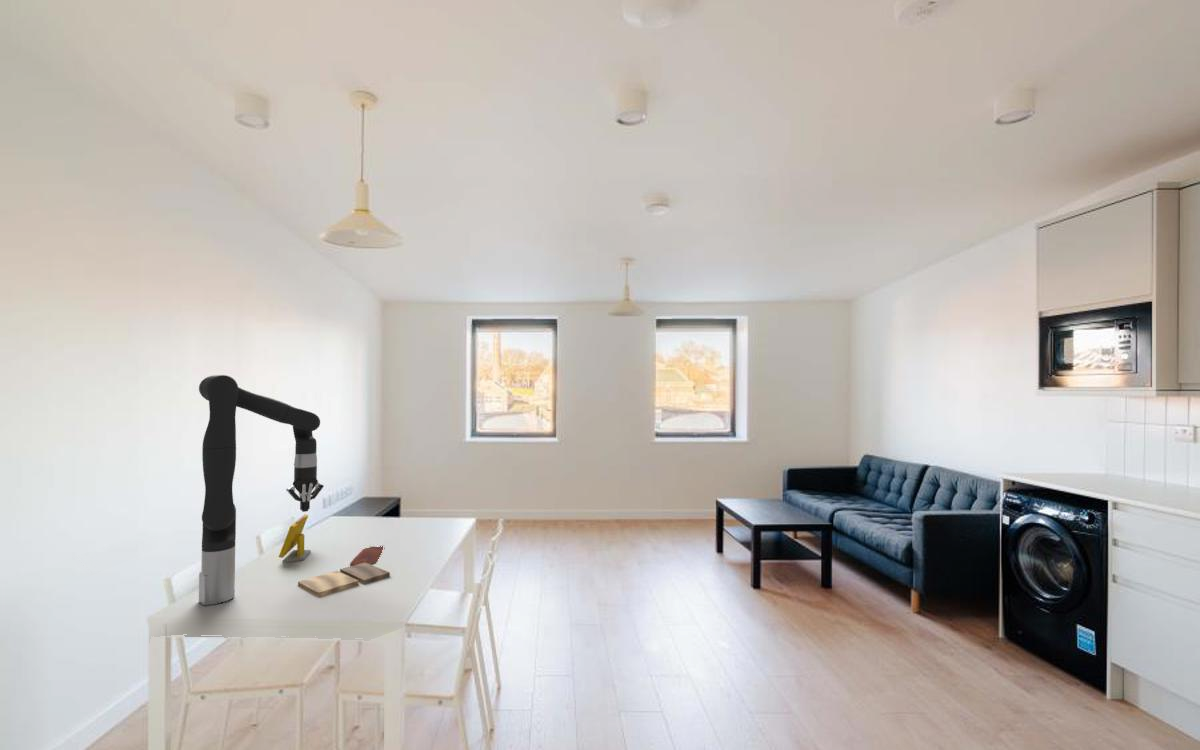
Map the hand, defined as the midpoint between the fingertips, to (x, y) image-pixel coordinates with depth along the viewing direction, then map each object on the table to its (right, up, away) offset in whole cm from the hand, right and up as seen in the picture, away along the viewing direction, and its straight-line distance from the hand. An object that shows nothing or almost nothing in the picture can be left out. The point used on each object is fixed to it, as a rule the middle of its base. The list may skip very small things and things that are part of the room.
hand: (304, 511), depth 203 cm
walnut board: (+22, -24, 0) cm, 33 cm away
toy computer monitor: (-15, -25, +21) cm, 36 cm away
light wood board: (+14, -24, -10) cm, 30 cm away
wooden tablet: (+14, -26, +24) cm, 38 cm away
